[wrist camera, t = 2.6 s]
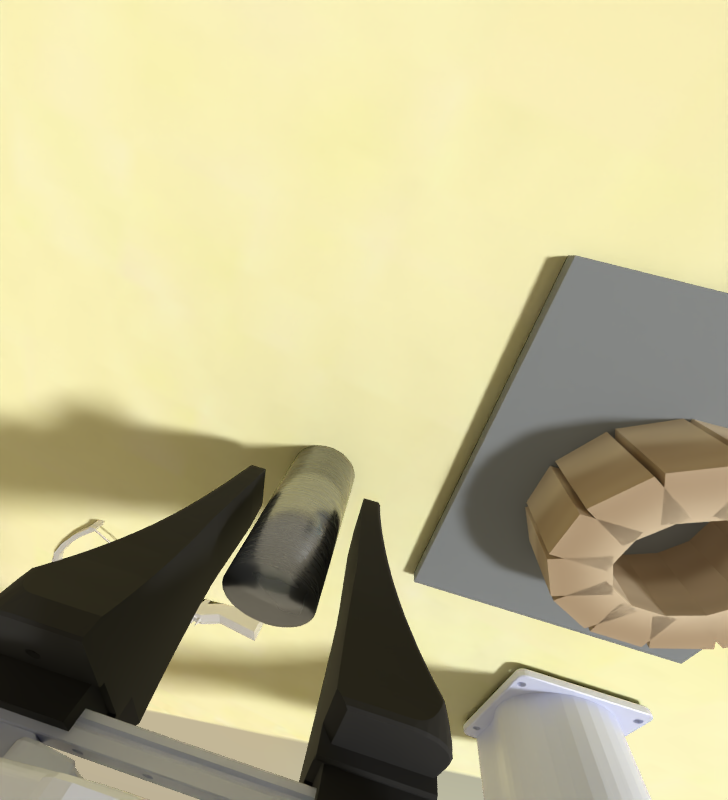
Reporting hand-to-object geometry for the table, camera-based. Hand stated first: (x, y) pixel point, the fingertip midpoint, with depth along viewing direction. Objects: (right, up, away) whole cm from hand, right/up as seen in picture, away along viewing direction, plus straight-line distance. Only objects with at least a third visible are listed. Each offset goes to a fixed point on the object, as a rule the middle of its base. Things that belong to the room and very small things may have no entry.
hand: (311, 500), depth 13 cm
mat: (+13, 0, 0) cm, 13 cm away
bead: (+13, 0, -1) cm, 13 cm away
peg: (0, +1, +2) cm, 2 cm away
